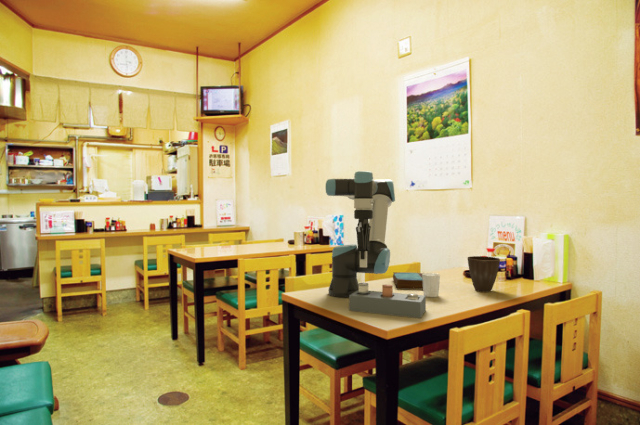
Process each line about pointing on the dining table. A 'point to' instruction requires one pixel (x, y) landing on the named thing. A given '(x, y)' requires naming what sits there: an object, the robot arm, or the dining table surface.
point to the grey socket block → (388, 304)
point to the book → (408, 280)
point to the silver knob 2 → (412, 296)
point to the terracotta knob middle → (387, 291)
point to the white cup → (431, 284)
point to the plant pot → (483, 272)
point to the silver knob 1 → (363, 288)
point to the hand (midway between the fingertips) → (363, 267)
